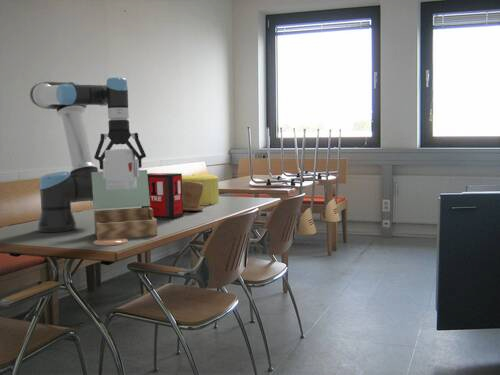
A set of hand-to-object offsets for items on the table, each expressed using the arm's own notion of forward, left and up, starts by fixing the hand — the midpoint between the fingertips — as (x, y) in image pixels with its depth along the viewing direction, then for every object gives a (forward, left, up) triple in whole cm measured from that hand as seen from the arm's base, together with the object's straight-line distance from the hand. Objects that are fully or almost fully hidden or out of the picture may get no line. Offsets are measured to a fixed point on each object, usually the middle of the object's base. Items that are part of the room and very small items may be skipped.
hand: (121, 177), depth 221 cm
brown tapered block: (+38, +56, -23) cm, 72 cm away
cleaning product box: (+22, +40, -23) cm, 51 cm away
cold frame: (+1, +2, -22) cm, 22 cm away
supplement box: (0, 0, -5) cm, 5 cm away
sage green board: (+1, +13, -6) cm, 14 cm away
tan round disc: (-6, -12, -22) cm, 26 cm away
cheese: (+48, +86, -23) cm, 101 cm away
